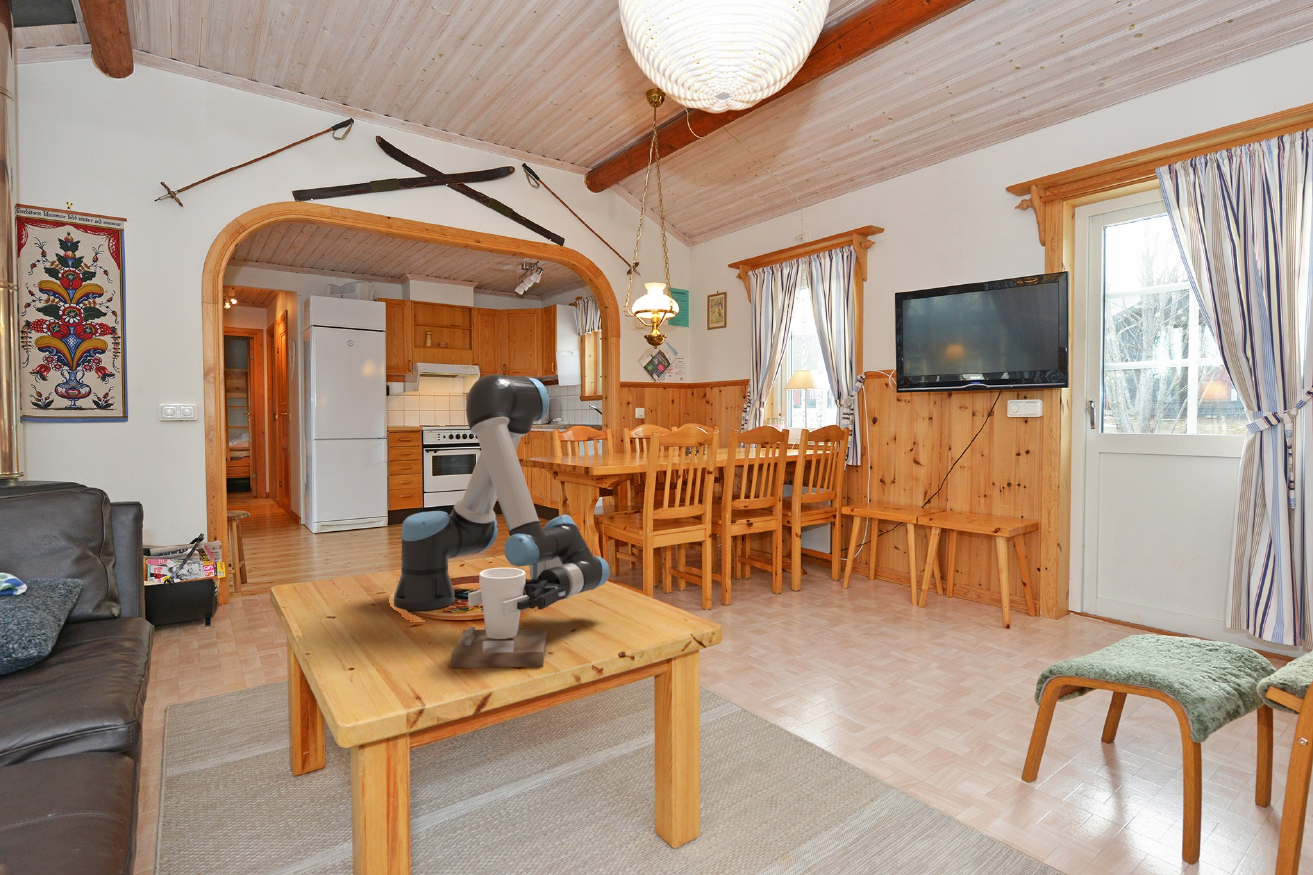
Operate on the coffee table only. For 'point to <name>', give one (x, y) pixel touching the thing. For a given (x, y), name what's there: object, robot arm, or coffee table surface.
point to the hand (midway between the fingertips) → (486, 604)
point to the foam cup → (500, 600)
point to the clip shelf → (499, 649)
